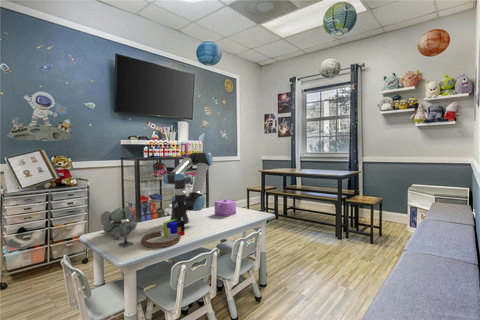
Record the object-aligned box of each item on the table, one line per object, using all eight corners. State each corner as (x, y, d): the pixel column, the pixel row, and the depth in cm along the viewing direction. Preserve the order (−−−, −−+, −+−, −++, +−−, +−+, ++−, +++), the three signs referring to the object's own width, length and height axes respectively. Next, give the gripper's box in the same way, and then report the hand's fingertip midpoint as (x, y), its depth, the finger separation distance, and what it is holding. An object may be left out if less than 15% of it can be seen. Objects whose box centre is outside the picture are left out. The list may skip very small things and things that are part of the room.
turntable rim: (133, 244, 167) (133, 239, 167) (157, 234, 186) (157, 230, 186) (162, 250, 157) (162, 245, 156) (184, 239, 175) (184, 234, 175)
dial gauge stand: (118, 246, 165) (117, 220, 164) (129, 241, 172) (128, 217, 172) (127, 248, 161) (127, 222, 161) (138, 243, 169) (137, 218, 168)
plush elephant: (105, 230, 197) (104, 203, 196) (136, 227, 204) (135, 201, 203) (98, 242, 172) (97, 211, 171) (134, 238, 179) (133, 208, 178)
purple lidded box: (240, 212, 249) (240, 197, 248) (223, 217, 229) (223, 202, 228) (228, 210, 258) (228, 196, 257) (211, 215, 238) (210, 200, 237)
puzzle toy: (174, 239, 177) (173, 224, 176) (163, 236, 182) (163, 222, 182) (184, 234, 185) (184, 220, 184) (174, 232, 190) (174, 219, 190)
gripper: (178, 196, 182) (179, 229, 183) (189, 193, 194) (190, 224, 194) (170, 195, 185) (170, 228, 186) (181, 192, 197) (182, 223, 198)
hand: (180, 226), depth 190 cm, fingers closed
